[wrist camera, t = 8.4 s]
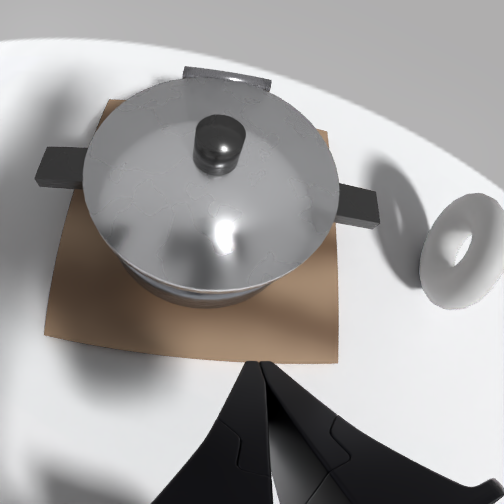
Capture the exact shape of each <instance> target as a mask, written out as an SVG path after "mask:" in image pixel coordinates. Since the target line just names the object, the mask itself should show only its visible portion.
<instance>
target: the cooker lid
mask: <svg viewBox="0 0 504 504" xmlns="http://www.w3.org/2000/svg"><path fill="white" fill-rule="evenodd" d="M270 88H271V80H269V79H264V78H259V77H254V76H249V75H243V74H238V73H232V72H225V71H219V70H212V69H204V68H196V67H187V66H185V67H184V71H183V78H182V79H179V80H173V81H169V82H165V83H162V84H158V85H156V86H153V87H150V88H148V89H145V90H143V91H141V92H140V93H138V94H136V95H134V96H132V97H131V98H129V99H128V100H126V101H125V102H123V103H122V104H121V105H120V106H118V107H117V108H116V109H115V110H114V111H112V113H111V114H110V115H109V116H108V117H107V118H106V119H105V120H104V121H103V123H102V124H101V125H100V127H99V128H98V130H97V131H96V133H95V135H94V137H93V139H92V140H91V142H90V145H89V147H88V150H87V153H86V157H85V161H84V167H83V190H84V196H85V202H86V204H87V207H88V210H89V213H90V216H91V218H92V220H93V222H94V224H95V226H96V228H97V230H98V231H99V233H100V235H101V237H102V238H103V240H104V241H105V242H106V243H107V245H108V246H109V247H110V248H111V250H112V251H113V252H114V253H115V254H116V255H117V256H118V257H119V258H121V259H122V260H123V261H124V262H125V263H126V264H127V265H129V266H130V267H132V268H133V269H135V270H136V271H138V272H139V273H141V274H142V275H144V276H146V277H148V278H150V279H152V280H154V281H156V282H158V283H161V284H164V285H167V286H170V287H173V288H176V289H179V290H185V291H190V292H196V293H207V294H225V293H236V292H243V291H247V290H251V289H255V288H259V287H262V286H264V285H267V284H269V283H272V282H275V281H277V280H278V279H280V278H282V277H284V276H286V275H287V274H289V273H291V272H292V271H293V270H295V269H296V268H297V267H298V266H300V265H301V264H302V263H303V262H305V261H306V260H307V259H308V258H309V257H310V256H311V255H312V254H313V253H314V252H315V251H316V250H317V248H318V247H319V246H320V245H321V244H322V242H323V241H324V239H325V238H326V236H327V235H328V233H329V231H330V229H331V227H332V224H333V222H334V220H335V216H336V212H337V209H338V203H339V179H338V174H337V169H336V165H335V162H334V160H333V157H332V154H331V152H330V150H329V148H328V146H327V144H326V142H325V141H324V139H323V138H322V136H321V135H320V133H319V132H318V131H317V129H316V128H315V127H314V126H313V125H312V124H311V122H310V121H309V120H308V119H307V118H306V117H305V116H303V115H302V114H301V113H300V112H299V111H298V110H296V109H295V108H294V107H293V106H291V105H290V104H289V103H287V102H285V101H284V100H282V99H281V98H279V97H277V96H275V95H273V94H271V93H270V92H269V91H270Z"/></svg>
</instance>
